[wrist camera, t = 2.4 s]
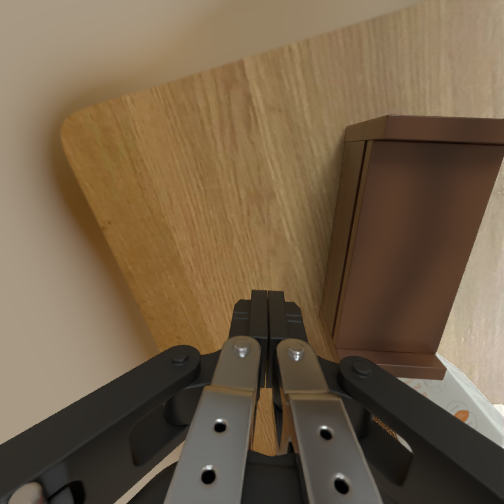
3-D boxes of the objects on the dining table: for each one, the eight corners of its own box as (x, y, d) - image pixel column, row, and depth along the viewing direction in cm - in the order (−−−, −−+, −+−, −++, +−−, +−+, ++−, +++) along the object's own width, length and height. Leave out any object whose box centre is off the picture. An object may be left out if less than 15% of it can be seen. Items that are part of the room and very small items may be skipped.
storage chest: (318, 315, 28) (337, 374, 21) (346, 126, 22) (388, 114, 15) (396, 319, 28) (443, 381, 21) (446, 130, 22) (540, 120, 14)
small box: (406, 410, 33) (468, 523, 23) (372, 387, 32) (422, 496, 22) (462, 369, 30) (558, 475, 20) (427, 343, 29) (510, 442, 19)
